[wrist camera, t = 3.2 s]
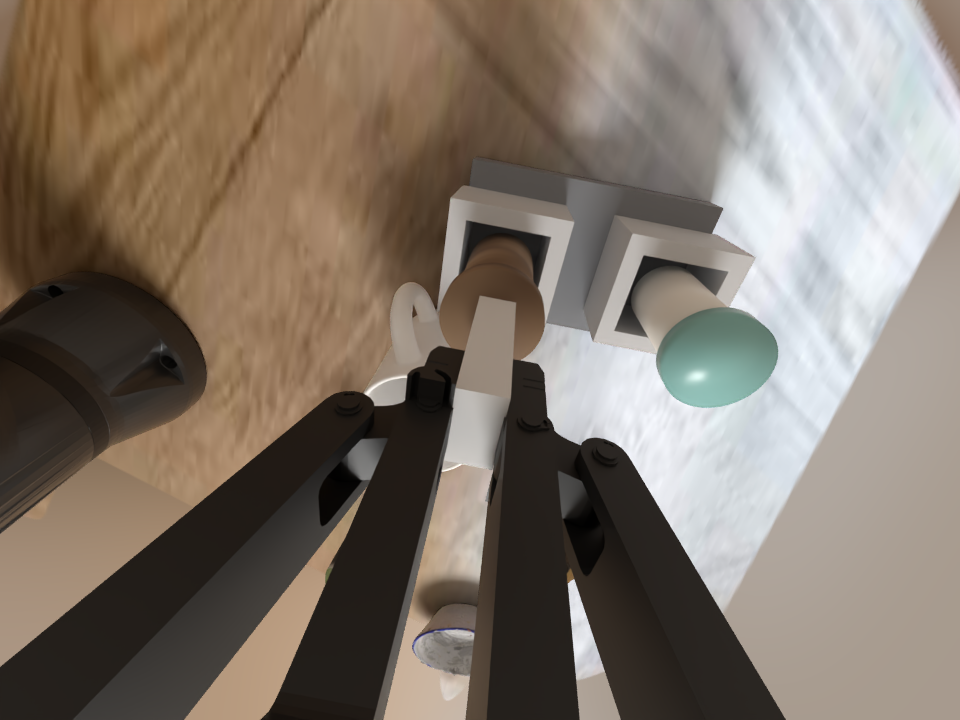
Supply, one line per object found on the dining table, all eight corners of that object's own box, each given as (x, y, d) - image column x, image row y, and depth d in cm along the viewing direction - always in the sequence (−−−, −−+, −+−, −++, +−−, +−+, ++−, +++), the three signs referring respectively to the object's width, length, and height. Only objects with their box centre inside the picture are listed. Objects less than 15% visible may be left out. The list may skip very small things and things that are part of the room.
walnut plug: (458, 292, 25) (433, 356, 18) (469, 218, 23) (446, 260, 16) (529, 306, 25) (531, 375, 18) (547, 234, 23) (557, 282, 16)
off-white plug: (613, 322, 25) (646, 397, 19) (640, 251, 23) (690, 307, 16) (684, 336, 25) (743, 416, 19) (718, 267, 23) (801, 329, 16)
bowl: (441, 581, 53) (434, 620, 49) (525, 613, 55) (525, 653, 51) (407, 622, 60) (398, 660, 55) (483, 649, 62) (480, 687, 57)
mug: (372, 269, 31) (313, 327, 23) (474, 253, 30) (454, 308, 21) (412, 393, 37) (377, 476, 29) (499, 384, 36) (491, 470, 27)
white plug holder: (451, 293, 32) (434, 333, 26) (470, 155, 27) (454, 165, 21) (657, 334, 32) (687, 383, 26) (716, 203, 27) (772, 227, 21)
